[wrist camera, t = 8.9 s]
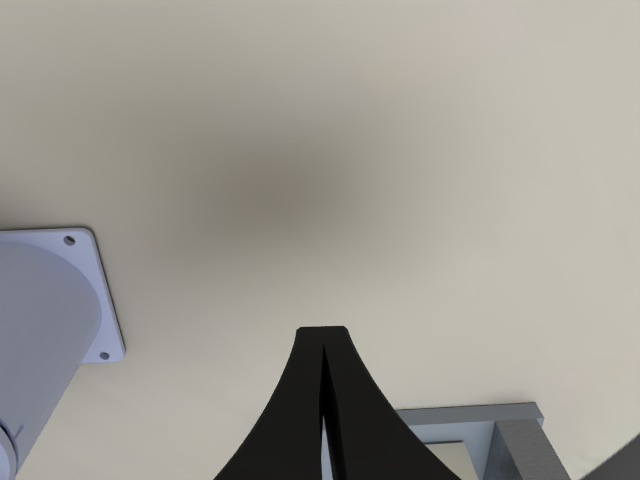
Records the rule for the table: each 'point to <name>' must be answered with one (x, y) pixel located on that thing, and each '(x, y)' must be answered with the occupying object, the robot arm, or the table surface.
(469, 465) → the off-white block with tab
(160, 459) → the table surface
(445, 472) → the robot arm
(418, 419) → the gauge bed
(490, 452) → the grey rectangular block
